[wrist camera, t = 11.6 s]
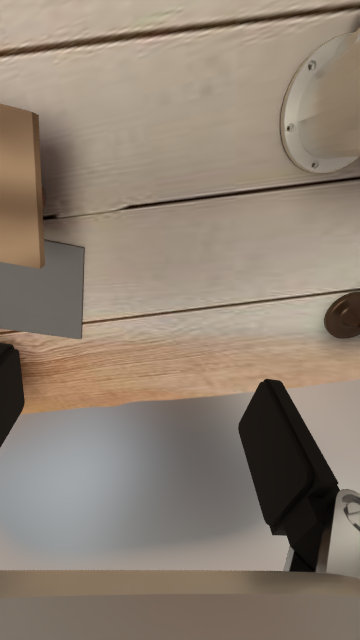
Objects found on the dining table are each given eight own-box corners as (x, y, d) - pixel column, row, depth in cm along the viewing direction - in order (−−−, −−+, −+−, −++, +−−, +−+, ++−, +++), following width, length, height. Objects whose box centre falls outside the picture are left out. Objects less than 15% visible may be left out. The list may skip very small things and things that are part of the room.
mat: (-40, 223, 34) (-42, 224, 33) (84, 247, 36) (83, 248, 36) (-19, 324, 41) (-21, 325, 41) (81, 337, 44) (81, 339, 44)
